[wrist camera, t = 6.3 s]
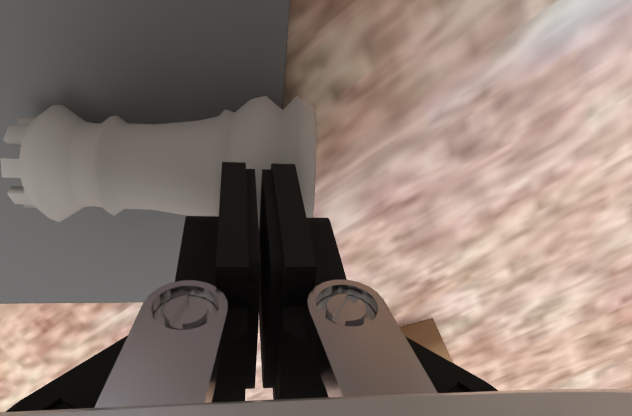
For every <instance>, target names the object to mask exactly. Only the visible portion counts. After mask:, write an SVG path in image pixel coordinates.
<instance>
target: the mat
mask: <svg viewBox="0 0 632 416" xmlns="http://www.w3.org/2000/svg"><path fill="white" fill-rule="evenodd" d="M289 5H290V0H0V158H7V159H19V156H20V148H21V146H15V145H8V144H7V143H6V142H5V141H4V140H3V138H4V136H5V134H6V131H7V129H8V127H9V125H13V126H19V125H18V119H17V117H37V116H39V115H40V114H41V113H43V112H44V111H45V110H47V109H48V108H49V107H51V106H52V105H63V106H65V107H66V108H68V109H69V110H70V111H72V112H73V113H74V114H76V115H77V116H79V117H80V118H81V119H83V120H84V121H85V122H91V123H96V124H97V123H103V122H104V121H105V120H106V119H108V118H109V117H110V116H119V117H120V118H121V119H122V120H124V121H125V122H126V123H134V124H164V123H176V122H187V121H199V120H204V119H208V118H213V117H217V116H220V114H221V113H222V112H223V111H224V110H229V111H232V112H234V113H235V112H236V111H237V110H238V109H240V108H241V107H242V106H243V105H244V104H246V103H247V102H248V101H249V100H250V99H254V98H258V97H263V96H267V97H268V98H269V99H270V100H271V101H273V102H274V103H275V104H276V105H277V106H278V107H280V108H281V109H282V107H283V92H284V78H285V63H286V49H287V34H288V20H289ZM11 186H23V185H22V182H21V178H4V177H2V173H1V160H0V304H9V303H119V302H144V301H145V300H146V299H147V297H148V296H149V294H151V293H152V292H153V291H155V290H156V289H158V288H159V287H162V286H164V285H166V284H169V283H172V282H175V277H176V271H177V265H178V259H179V253H180V247H181V241H182V235H183V229H184V223H185V218H186V215H180V214H174V213H168V212H162V211H156V210H143V209H124V210H122V211H121V212H119V213H118V214H116V215H115V216H114V215H112V214H110V213H108V212H107V211H106V210H105V209H103V208H102V207H95V206H91V207H84V208H82V209H80V210H79V211H77V212H76V213H74V214H72V215H71V216H69V217H68V218H66V219H64V220H62V221H60V222H57V221H55V220H52V219H49V218H48V217H47V216H46V215H44V214H43V213H42V212H41V211H39V210H38V209H37V208H25V207H24V204H14V202H13V201H12V200H11V198H10V197H9V196H8V194H7V193H8V191H9V189H10V187H11Z"/></svg>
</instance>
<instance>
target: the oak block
mask: <svg viewBox="0 0 632 416" xmlns="http://www.w3.org/2000/svg"><path fill="white" fill-rule="evenodd" d="M400 329H401V331H402V332H403V334H404V336H406V337H408V338H409V339H411V340H413V341H415V342H416V343H418V344H420V345H422V346H423V347H425V348H427V349H429V350H431V351H432V352H434V353H436V354H438V355H439V356H441V357H443V358H445V359H446V360H448V361H450V362H452V363H453V361H452V359H451V357H450V355H449V353H448V351H447V348H446V346H445V344H444V342H443V340H442V338H441V335H440V333H439V331H438V329H437V327H436V325H435V322H434V320H433V318H431V319H428V320H424V321H420V322H417V323H413V324H410V325H406V326H403V327H400Z"/></svg>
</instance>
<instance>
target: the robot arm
mask: <svg viewBox="0 0 632 416" xmlns="http://www.w3.org/2000/svg"><path fill="white" fill-rule="evenodd" d="M258 319H259V321H260V341H261V361H262V381H263V388H273V398H274V400H255V401H245V389H252V388H255V374H256V356H257V337H258ZM0 416H632V390H621V389H545V390H517V391H498V390H497V389H495V388H494V387H493V386H491V385H490V384H488V383H487V382H485V381H484V380H482V379H480V378H478V377H476V376H475V375H473V374H471V373H469V372H468V371H466V370H464V369H462V368H461V367H459V366H457V365H455V364H454V363H452V362H450V361H448V360H446V359H445V358H443V357H441V356H439V355H438V354H436V353H434V352H432V351H431V350H429V349H427V348H425V347H423V346H422V345H420V344H418V343H416V342H415V341H413V340H411V339H409V338H408V337H406V336H404V334H403V332H402V331H401V329H400V327H399V325H398V324H397V322H396V320H395V319H394V317H393V315H392V313H391V312H390V310H389V308H388V307H387V305H386V303H385V301H384V300H383V299H382V297H381V296H380V295H379V294H378V293H377V292H376V291H375V290H373V289H372V288H370V287H369V286H367V285H364V284H362V283H359V282H356V281H351V280H347V279H346V276H345V272H344V269H343V265H342V262H341V258H340V255H339V251H338V248H337V244H336V241H335V237H334V234H333V230H332V227H331V223H330V220H329V219H328V218H307V217H306V213H305V208H304V203H303V199H302V194H301V189H300V185H299V180H298V175H297V171H296V166H295V164H277V163H272V164H271V169H262V179H261V199H260V220H259V225H258V209H257V193H256V177H255V169H246V163H245V162H222V171H221V187H220V203H219V216H186V218H185V223H184V229H183V235H182V241H181V247H180V253H179V259H178V265H177V271H176V277H175V282H172V283H169V284H166V285H164V286H162V287H159V288H158V289H156V290H155V291H153V292H152V293H151V294H149V296H148V297H147V299H146V300H145V301H144V303H143V305H142V307H141V309H140V311H139V313H138V315H137V318H136V320H135V322H134V324H133V326H132V328H131V330H130V332H129V335H128V336H126V337H124V338H123V339H121V340H120V341H118V342H116V343H115V344H113V345H111V346H110V347H108V348H106V349H105V350H103V351H101V352H100V353H98V354H96V355H95V356H93V357H91V358H90V359H88V360H86V361H85V362H83V363H82V364H80V365H78V366H77V367H75V368H73V369H72V370H70V371H68V372H67V373H65V374H63V375H62V376H60V377H58V378H57V379H55V380H53V381H52V382H50V383H48V384H47V385H45V386H44V387H42V388H40V389H39V390H37V391H35V392H34V393H32V394H30V395H29V396H27V397H25V398H24V399H22V400H20V401H19V402H18V403H16V404H15V405H14V406H12V407H11V408H10V409H8V410H7V411H6V412H0Z"/></svg>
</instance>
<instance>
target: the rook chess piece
mask: <svg viewBox="0 0 632 416" xmlns="http://www.w3.org/2000/svg"><path fill="white" fill-rule="evenodd" d="M17 119H18V125H19V126H13V125H9V127H8V129H7V131H6V134H5V136H4V138H3V140H4V141H5V142H6V143H7V144H8V145H15V146H21V148H20V156H19V159H7V158H0V160H1V173H2V177H4V178H21V182H22V185H23V186H11V187H10V189H9V191H8V193H7V194H8V196H9V197H10V198H11V200H12V201H13V202H14V204H24V207H25V208H37V209H38V210H39V211H41V212H42V213H43V214H44V215H46V216H47V217H48V218H49V219H52V220H55V221H57V222H60V221H62V220H64V219H66V218H68V217H69V216H71V215H72V214H74V213H76V212H77V211H79V210H80V209H82V208H84V207H91V206H95V207H102V208H103V209H105V210H106V211H107V212H108V213H110V214H112V215H114V216H115V215H116V214H118V213H119V212H121V211H122V210H124V209H143V210H156V211H162V212H168V213H174V214H180V215H186V216H219V203H220V187H221V171H222V162H245V163H246V169H255V177H256V193H257V209H258V225H259V220H260V199H261V179H262V169H271V164H272V163H277V164H295V166H296V171H297V175H298V180H299V185H300V189H301V194H302V199H303V203H304V208H305V213H306V217H307V218H313V209H314V196H315V175H316V114H315V108H314V107H313V106H312V105H311V104H309V103H308V102H307V101H305V100H304V99H303V98H301V97H300V96H299V95H297V96H296V97H295V98H294V99H293V100H292V101H291V102H290V103H289V104H288V105H287V106H286V107H285V108H284V109H283V110H282V109H281V108H280V107H278V106H277V105H276V104H275V103H274V102H273V101H271V100H270V99H269V98H268V97H267V96H263V97H258V98H254V99H250V100H249V101H248V102H247V103H246V104H244V105H243V106H242V107H241V108H240V109H238V110H237V111H236V112H235V113H234V112H232V111H229V110H224V111H223V112H222V113H221V114H220V116H217V117H213V118H208V119H204V120H199V121H187V122H176V123H164V124H134V123H126V122H125V121H124V120H122V119H121V118H120V117H119V116H110V117H109V118H108V119H106V120H105V121H104V122H103V123H97V124H96V123H91V122H85V121H84V120H83V119H81V118H80V117H79V116H77V115H76V114H74V113H73V112H72V111H70V110H69V109H68V108H66V107H65V106H63V105H52V106H51V107H49V108H48V109H47V110H45V111H44V112H43V113H41V114H40V115H39V116H37V117H17Z"/></svg>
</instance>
